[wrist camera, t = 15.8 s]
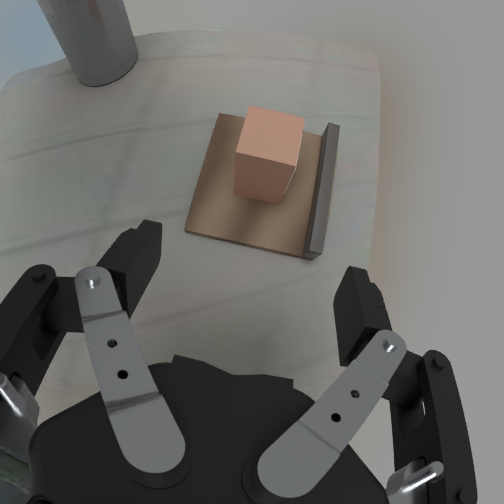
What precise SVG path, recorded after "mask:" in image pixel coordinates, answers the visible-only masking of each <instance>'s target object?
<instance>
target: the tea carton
mask: <svg viewBox="0 0 504 504" xmlns="http://www.w3.org/2000/svg"><path fill="white" fill-rule="evenodd" d="M304 121H305V118H301V117H298V116H294V115H290V114H286V113H282V112H277V111H273V110H269V109H264V108H260V107H255V106H251V105H249V109H248V112H247V115H246V119H245V122H244V125H243V129H242V132H241V135H240V139H239V142H238V146H237V149H236V156H235V179H234V194H235V195H239V196H244V197H248V198H252V199H257V200H261V201H265V202H269V203H273V204H277V205H279V203H280V201H281V198H282V196H283V194H285V192H286V190H287V188H288V186H289V183H290V181H291V179H292V177H293V175H294V172H295V170H296V165H297V160H298V155H299V150H300V145H301V139H302V132H303V127H304Z"/></svg>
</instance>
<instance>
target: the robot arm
mask: <svg viewBox="0 0 504 504" xmlns="http://www.w3.org/2000/svg"><path fill="white" fill-rule="evenodd" d="M37 2H38V4H39V6H40V8H41V10H42V11H43V13H44V15H45V17H46V19H47V21H48V23H49V25H50V27H51V29H52V31H53V33H54V34H55V36H56V38H57V40H58V42H59V44H60V46H61V48H62V50H63V51H64V53H65V55H66V57H67V59H68V60H69V62H70V64H71V66H72V68H73V70H74V71H75V73H76V75H77V77H78V79H79V80H80V81H81V82H82V83H83V84H85V85H88V86H100V85H104V84H108V83H110V82H113V81H115V80H117V79H118V78H120V77H122V76H123V75H124V74H126V73H127V72H128V71H129V70H130V69H131V68H132V66H133V65H134V64H135V62H136V60H137V56H138V51H137V47H136V44H135V40H134V37H133V34H132V30H131V27H130V23H129V20H128V16H127V13H126V9H125V6H124V2H123V0H37ZM161 242H162V223H159V222H155V221H150V220H146V219H145V220H143V221H142V223H141V224H140V225H139V227H138V228H137V229H132V228H130V229H128V230H127V231H125V232H123V233H121V234H120V236H119V237H118V238H117V239H116V241H115V242H114V243H113V244H112V246H111V248H109V249H108V251H107V252H106V253H105V254H104V256H103V257H102V258H101V259H100V261H99V262H98V263H97V265H96V266H92V267H87V268H84V269H82V270H81V271H79V272H78V273H77V275H76V276H75V277H56V273H55V270H54V269H53V268H52V267H51V266H49V265H45V264H39V265H35V266H33V267H31V268H29V269H28V270H27V271H26V272H25V273H24V274H23V275H22V276H21V278H20V279H19V280H18V282H17V283H16V284H15V285H14V287H13V288H12V289H11V291H10V292H9V293H8V294H7V296H6V297H5V298H4V300H3V301H2V302H1V304H0V454H4V453H9V454H11V455H12V456H14V457H16V458H18V459H20V460H22V461H24V462H26V463H28V464H29V469H30V494H29V499H28V502H27V504H476V503H477V487H476V478H475V471H474V464H473V458H472V452H471V447H470V441H469V436H468V431H467V426H466V421H465V417H464V412H463V408H462V404H461V400H460V396H459V392H458V388H457V384H456V380H455V377H454V374H453V370H452V366H451V364H450V361H449V360H448V359H447V357H446V356H445V355H443V354H442V353H441V352H438V351H436V350H430V351H428V352H426V353H425V355H424V356H423V357H421V356H419V355H417V354H414V353H412V352H409V351H407V348H406V344H405V342H404V340H403V339H402V338H401V337H400V336H399V335H398V334H396V333H395V332H393V331H392V328H391V324H390V320H389V317H388V313H387V310H386V309H385V308H386V307H385V304H384V302H383V301H384V300H383V297H382V294H381V291H380V290H379V289H378V287H377V286H376V285H375V283H371V282H370V280H369V276H368V273H367V271H366V270H365V269H361V268H357V267H352V266H349V267H348V268H347V270H346V272H345V274H344V277H343V279H342V281H341V283H340V285H339V287H338V290H337V292H336V294H335V297H334V303H333V308H334V315H335V324H336V332H337V341H338V350H339V360H340V366H344V367H347V368H346V369H345V371H344V372H343V373H342V374H341V375H340V376H339V377H338V379H337V380H336V381H335V382H334V383H333V384H332V385H331V386H330V387H329V389H328V390H327V391H326V392H325V393H324V394H323V395H322V396H321V397H320V398H319V399H318V401H317V402H315V401H314V400H312V399H311V398H310V397H309V396H307V395H306V394H304V393H303V392H301V391H299V390H297V389H294V388H293V379H288V378H282V377H276V376H271V375H265V374H263V375H232V374H229V373H227V372H225V371H223V370H220V369H218V368H216V367H214V366H212V365H210V364H207V363H205V362H203V361H199V360H194V359H190V358H186V357H182V356H178V355H174V358H173V361H172V363H157V364H152V365H149V366H147V364H146V362H145V359H144V357H143V354H142V352H141V349H140V347H139V344H138V342H137V339H136V337H135V334H134V332H133V329H132V326H131V324H130V321H129V320H130V318H131V316H132V314H133V312H134V310H135V308H136V306H137V304H138V302H139V300H140V299H141V297H142V295H143V293H144V291H145V289H146V287H147V285H148V284H149V282H150V280H151V278H152V276H153V274H154V273H155V271H156V269H157V267H158V265H159V262H160V257H161ZM67 332H80V333H85V337H86V341H87V345H88V349H89V353H90V357H91V361H92V364H93V368H94V371H95V375H96V378H97V382H98V385H99V388H100V391H99V392H98V393H96V394H94V395H92V396H90V397H88V398H87V399H85V400H83V401H81V402H79V403H77V404H75V405H74V406H72V407H70V408H68V409H66V410H64V411H62V412H60V413H59V414H57V415H55V416H53V417H51V418H49V419H47V420H46V421H44V422H43V423H42V424H40V425H39V426H38V425H37V420H38V416H39V406H38V403H37V401H36V399H35V398H34V397H35V395H36V393H37V390H38V388H39V386H40V384H41V382H42V380H43V378H44V376H45V373H46V371H47V369H48V367H49V365H50V363H51V361H52V359H53V357H54V355H55V353H56V351H57V350H58V348H59V346H60V344H61V342H62V340H63V338H64V336H65V334H66V333H67ZM380 398H384V399H387V400H389V403H390V412H391V423H392V435H393V448H394V465H395V466H394V467H395V473H393V474H392V475H391V476H390V478H389V479H388V482H387V488H386V489H384V487H383V486H382V485H381V483H380V482H379V481H378V480H377V479H376V477H375V476H374V475H373V474H372V472H371V471H370V470H369V469H368V467H367V466H366V465H365V464H364V463H363V461H362V460H361V459H360V458H359V456H358V455H357V454H356V453H355V451H354V450H353V449H352V448H351V446H350V445H349V444H348V443H349V442H350V440H351V439H352V437H353V436H354V435H355V434H356V432H357V431H358V429H359V428H360V427H361V425H362V424H363V423H364V421H365V420H366V418H367V417H368V416H369V414H370V413H371V411H372V410H373V408H374V407H375V405H376V404H377V402H378V401H379V399H380ZM423 402H424V407H425V416H424V410H423V404H422V403H423Z"/></svg>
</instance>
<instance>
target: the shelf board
mask: <svg viewBox="0 0 504 504" xmlns="http://www.w3.org/2000/svg"><path fill="white" fill-rule="evenodd" d="M245 119H246V118H243V117H238V116H232V115H227V114H222V113H219V116H218V119H217V122H216V125H215V128H214V131H213V134H212V137H211V140H210V143H209V147H208V150H207V153H206V156H205V159H204V163H203V166H202V169H201V172H200V176H199V179H198V182H197V186H196V189H195V193H194V196H193V200H192V203H191V207H190V210H189V214H188V217H187V221H186V225H185V228H184V230H185V232H187V233H192V234H196V235H201V236H205V237H210V238H214V239H219V240H223V241H227V242H232V243H236V244H241V245H245V246H250V247H254V248H258V249H263V250H267V251H272V252H276V253H280V254H285V255H289V256H294V257H298V258H302V259H307V260H313V259H315V258H316V257H318V256H319V255H321V254H322V252H323V246H324V240H325V234H326V228H327V224H328V220H329V213H330V206H331V199H332V192H333V185H334V177H335V169H336V161H337V153H338V151H337V147H338V138H339V129H340V125H336V124H333V123H328V125H327V127H326V129H325V131H324V133H323V135H322V136H319V135H315V134H311V133H308V132H304V131H303V132H302V139H301V145H300V150H299V155H298V160H297V165H296V170H295V172H294V175H293V177H292V179H291V181H290V183H289V186H288V188H287V190H286V192H285V194H283V196H282V198H281V201H280V203H279V205H277V204H273V203H269V202H265V201H261V200H257V199H252V198H248V197H244V196H239V195H235V194H234V179H235V156H236V149H237V146H238V142H239V139H240V135H241V132H242V129H243V125H244V122H245Z"/></svg>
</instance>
